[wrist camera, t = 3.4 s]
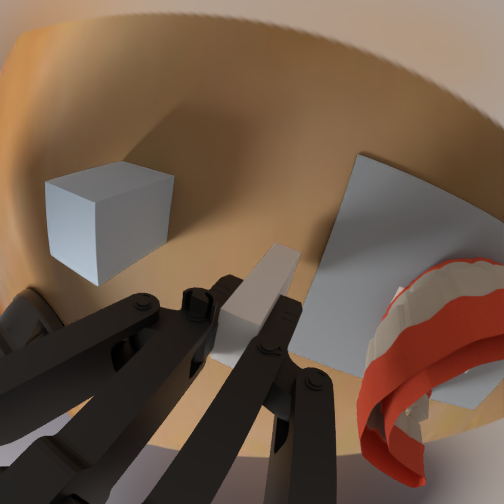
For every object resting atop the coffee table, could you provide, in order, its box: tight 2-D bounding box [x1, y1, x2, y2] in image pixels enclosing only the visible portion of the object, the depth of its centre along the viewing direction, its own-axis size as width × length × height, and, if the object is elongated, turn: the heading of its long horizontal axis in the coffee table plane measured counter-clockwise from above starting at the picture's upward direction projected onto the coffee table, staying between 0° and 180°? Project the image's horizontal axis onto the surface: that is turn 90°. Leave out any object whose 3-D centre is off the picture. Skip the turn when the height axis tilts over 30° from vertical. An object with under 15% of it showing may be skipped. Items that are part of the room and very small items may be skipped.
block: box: [45, 161, 175, 287], centre depth 17 cm, size 5×5×7 cm
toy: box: [357, 257, 504, 488], centre depth 12 cm, size 13×10×8 cm
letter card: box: [288, 154, 504, 410], centre depth 15 cm, size 18×14×1 cm
